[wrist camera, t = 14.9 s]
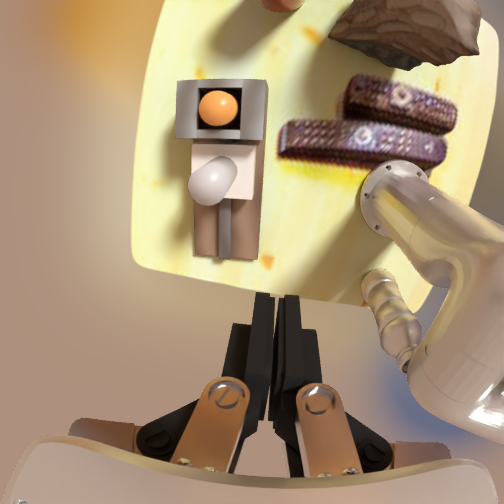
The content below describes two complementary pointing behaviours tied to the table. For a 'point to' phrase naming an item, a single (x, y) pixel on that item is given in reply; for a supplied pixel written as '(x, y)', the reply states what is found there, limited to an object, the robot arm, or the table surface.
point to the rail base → (239, 207)
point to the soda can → (281, 5)
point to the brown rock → (411, 30)
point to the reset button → (219, 108)
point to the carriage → (222, 171)
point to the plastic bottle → (392, 317)
